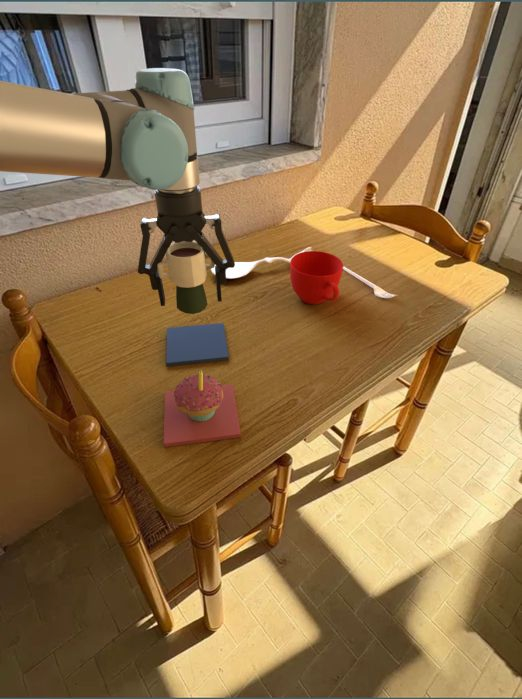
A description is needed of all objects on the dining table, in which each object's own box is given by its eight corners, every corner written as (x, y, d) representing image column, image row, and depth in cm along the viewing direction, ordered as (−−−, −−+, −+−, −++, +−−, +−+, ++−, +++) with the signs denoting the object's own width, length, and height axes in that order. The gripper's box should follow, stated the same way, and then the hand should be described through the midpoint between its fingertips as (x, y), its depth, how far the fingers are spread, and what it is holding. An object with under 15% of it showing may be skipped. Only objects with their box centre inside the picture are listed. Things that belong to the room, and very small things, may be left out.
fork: (346, 267, 112) (347, 261, 110) (397, 300, 99) (399, 294, 98) (337, 270, 110) (338, 264, 109) (388, 304, 98) (390, 297, 96)
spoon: (322, 269, 111) (324, 258, 109) (215, 286, 103) (214, 274, 101) (310, 255, 117) (311, 245, 115) (208, 270, 109) (207, 259, 107)
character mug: (211, 293, 82) (206, 235, 73) (223, 310, 77) (219, 251, 69) (161, 304, 78) (150, 246, 70) (171, 323, 74) (160, 263, 65)
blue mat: (166, 366, 79) (165, 363, 78) (167, 331, 88) (167, 327, 87) (228, 360, 81) (228, 356, 80) (223, 326, 90) (223, 322, 89)
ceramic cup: (308, 325, 90) (313, 289, 84) (279, 289, 102) (281, 255, 96) (355, 314, 94) (363, 278, 88) (322, 280, 106) (326, 247, 99)
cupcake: (233, 414, 68) (231, 365, 61) (193, 439, 64) (185, 390, 56) (207, 387, 73) (202, 339, 66) (168, 408, 69) (157, 360, 61)
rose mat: (164, 447, 64) (163, 443, 63) (165, 394, 73) (165, 391, 72) (240, 437, 66) (240, 433, 65) (233, 387, 75) (232, 383, 74)
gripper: (243, 176, 66) (245, 285, 81) (106, 181, 63) (134, 294, 78) (250, 191, 61) (250, 305, 75) (100, 197, 58) (130, 315, 72)
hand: (191, 299), depth 77 cm, fingers closed on character mug, 10 cm apart
